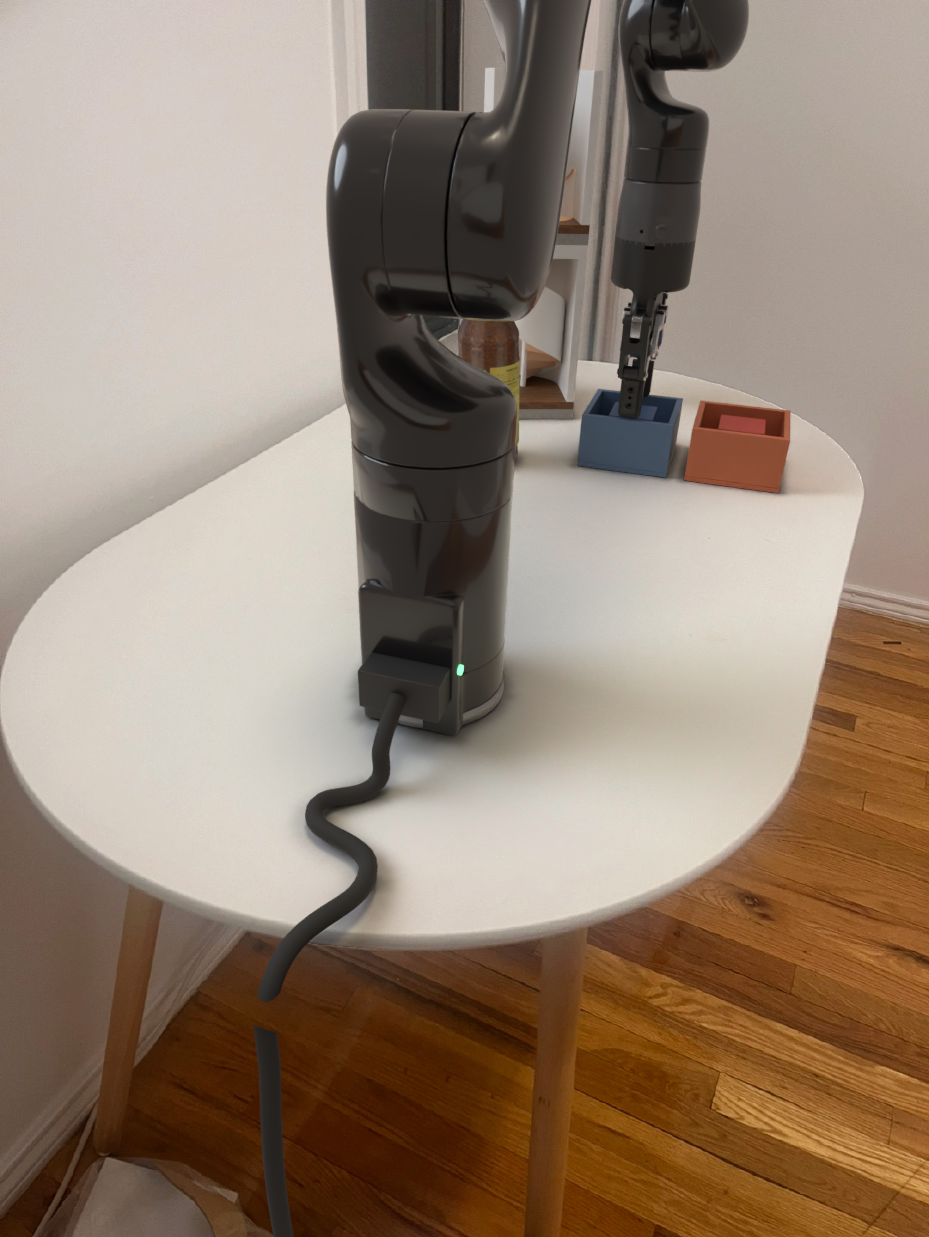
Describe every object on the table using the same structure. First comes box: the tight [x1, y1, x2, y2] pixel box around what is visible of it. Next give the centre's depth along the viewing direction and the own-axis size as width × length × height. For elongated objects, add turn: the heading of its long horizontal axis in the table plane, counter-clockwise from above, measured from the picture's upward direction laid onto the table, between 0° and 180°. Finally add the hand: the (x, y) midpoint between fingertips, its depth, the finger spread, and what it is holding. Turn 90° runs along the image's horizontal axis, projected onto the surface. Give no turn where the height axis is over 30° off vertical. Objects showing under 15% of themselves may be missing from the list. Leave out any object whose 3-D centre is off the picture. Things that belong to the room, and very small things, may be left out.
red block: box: [718, 415, 766, 435], centre depth 90 cm, size 4×4×4 cm
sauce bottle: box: [457, 319, 520, 460], centre depth 88 cm, size 6×6×20 cm
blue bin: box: [576, 388, 684, 479], centre depth 93 cm, size 9×9×6 cm
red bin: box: [683, 400, 791, 494], centre depth 90 cm, size 9×9×6 cm
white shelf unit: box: [483, 67, 605, 420], centre depth 99 cm, size 11×11×35 cm
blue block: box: [609, 402, 658, 422], centre depth 93 cm, size 4×4×4 cm
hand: (634, 405), depth 92 cm, fingers open, 7 cm apart
